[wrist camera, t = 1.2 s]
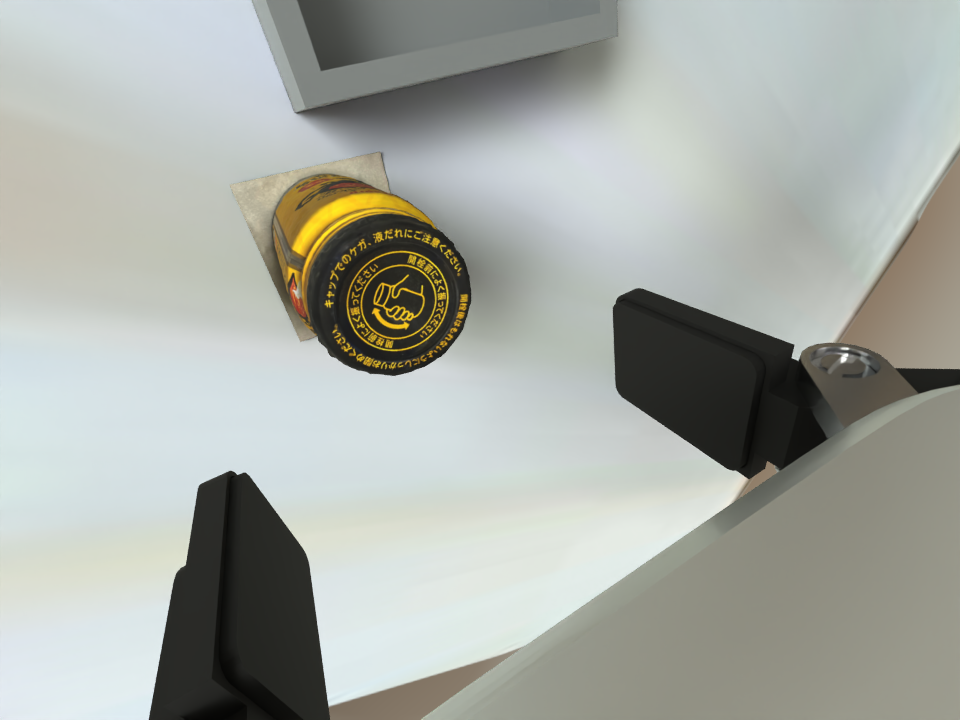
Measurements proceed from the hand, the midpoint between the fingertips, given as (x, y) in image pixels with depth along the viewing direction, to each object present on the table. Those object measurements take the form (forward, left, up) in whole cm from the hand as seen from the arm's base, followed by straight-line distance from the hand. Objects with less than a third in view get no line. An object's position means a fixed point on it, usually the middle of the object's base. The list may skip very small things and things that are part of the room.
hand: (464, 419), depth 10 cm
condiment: (0, 0, -17) cm, 17 cm away
